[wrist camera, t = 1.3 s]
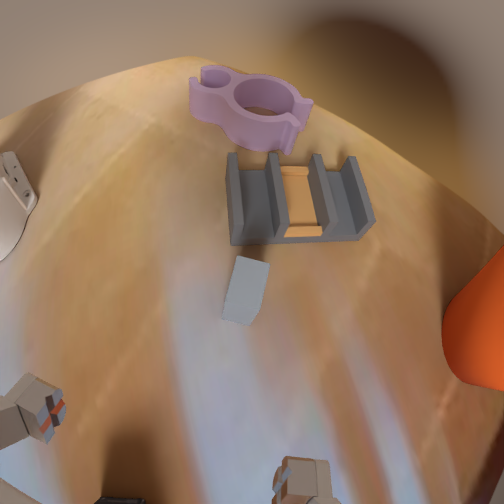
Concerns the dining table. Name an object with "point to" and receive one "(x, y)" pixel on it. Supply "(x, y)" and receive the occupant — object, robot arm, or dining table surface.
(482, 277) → the flowerpot
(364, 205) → the rack
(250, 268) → the tall grey pillar block
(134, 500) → the small box
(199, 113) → the clip
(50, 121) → the dining table surface
